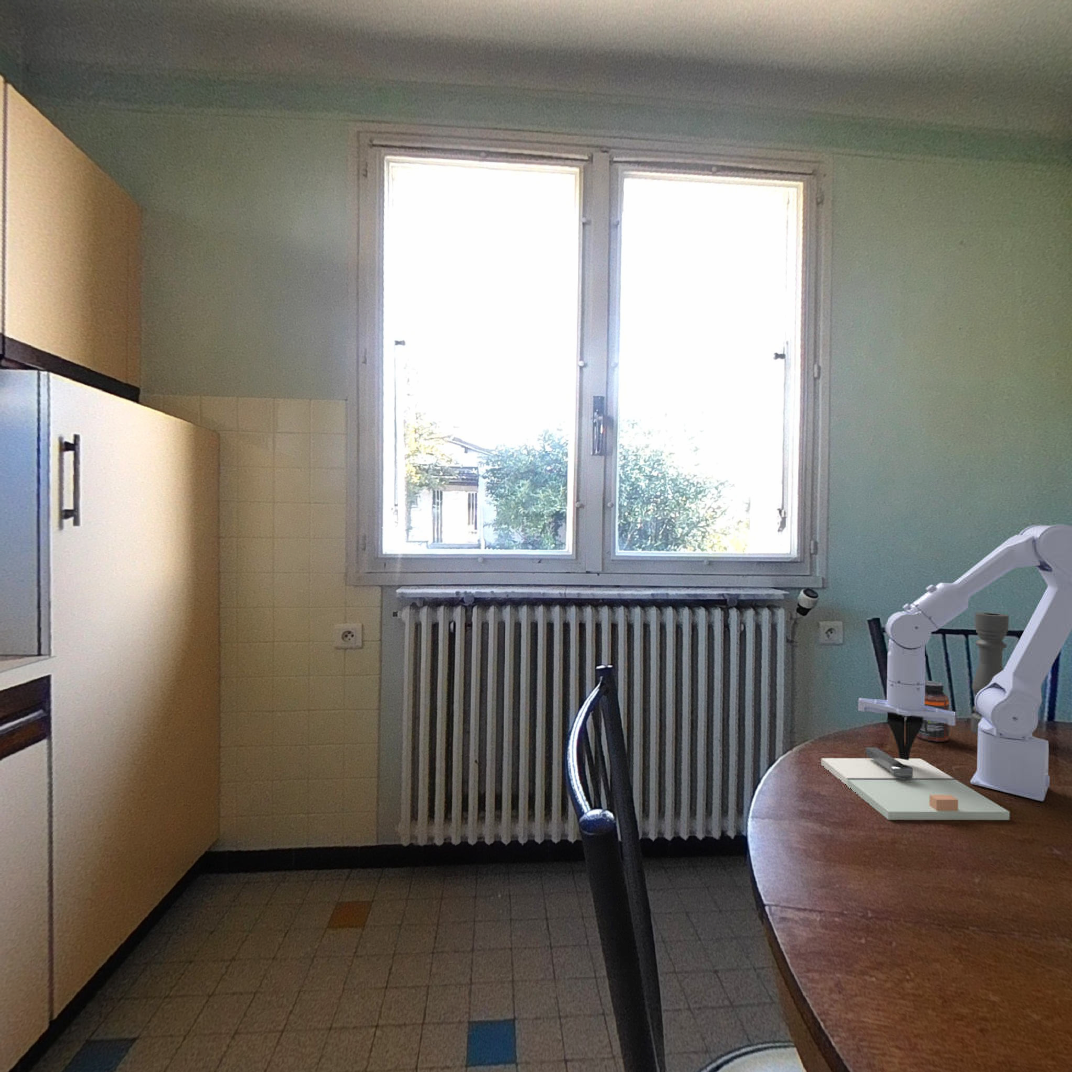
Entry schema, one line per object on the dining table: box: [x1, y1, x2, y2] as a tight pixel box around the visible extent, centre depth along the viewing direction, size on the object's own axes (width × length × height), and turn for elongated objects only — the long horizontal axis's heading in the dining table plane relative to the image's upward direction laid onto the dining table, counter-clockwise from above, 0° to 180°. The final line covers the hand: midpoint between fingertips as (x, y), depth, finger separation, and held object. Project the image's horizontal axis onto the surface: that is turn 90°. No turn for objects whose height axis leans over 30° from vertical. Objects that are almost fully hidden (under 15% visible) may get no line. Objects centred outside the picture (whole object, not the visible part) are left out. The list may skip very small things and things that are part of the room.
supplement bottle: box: [916, 680, 950, 743], centre depth 125 cm, size 6×6×11 cm
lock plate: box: [820, 757, 1011, 821], centre depth 100 cm, size 18×20×3 cm
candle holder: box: [970, 611, 1010, 735], centre depth 128 cm, size 6×6×25 cm
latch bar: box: [865, 746, 913, 778], centre depth 105 cm, size 11×3×1 cm, turn 1°
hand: (904, 757), depth 108 cm, fingers closed
